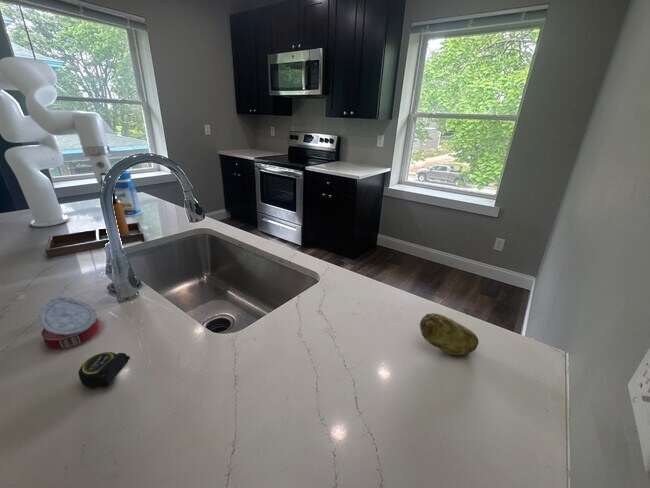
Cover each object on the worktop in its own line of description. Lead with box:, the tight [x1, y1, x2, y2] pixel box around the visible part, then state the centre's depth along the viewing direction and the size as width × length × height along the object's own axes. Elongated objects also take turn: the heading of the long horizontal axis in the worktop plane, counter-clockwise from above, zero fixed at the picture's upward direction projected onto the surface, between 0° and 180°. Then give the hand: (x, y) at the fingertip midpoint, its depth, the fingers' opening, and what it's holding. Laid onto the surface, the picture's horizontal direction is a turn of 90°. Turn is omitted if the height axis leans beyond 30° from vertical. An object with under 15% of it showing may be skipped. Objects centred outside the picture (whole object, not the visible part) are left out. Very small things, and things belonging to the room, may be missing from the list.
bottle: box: [113, 191, 129, 235], centre depth 111 cm, size 6×6×18 cm
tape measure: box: [77, 351, 131, 389], centre depth 58 cm, size 7×7×4 cm
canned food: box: [38, 296, 101, 351], centre depth 68 cm, size 11×10×10 cm
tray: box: [45, 221, 146, 259], centre depth 112 cm, size 14×28×4 cm, turn 126°
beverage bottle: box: [114, 170, 142, 217], centre depth 138 cm, size 8×8×20 cm
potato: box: [419, 312, 479, 356], centre depth 68 cm, size 8×13×8 cm, turn 63°
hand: (111, 201), depth 110 cm, fingers closed on bottle, 4 cm apart
